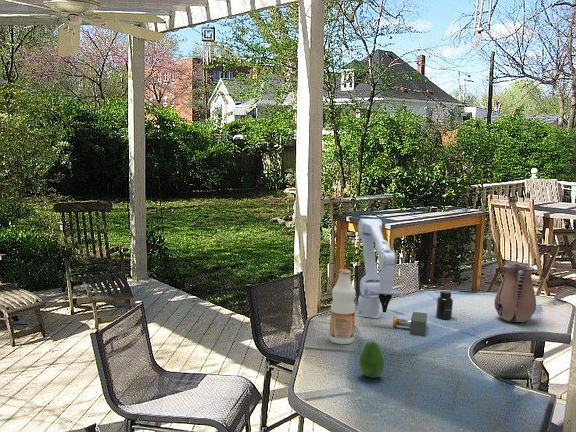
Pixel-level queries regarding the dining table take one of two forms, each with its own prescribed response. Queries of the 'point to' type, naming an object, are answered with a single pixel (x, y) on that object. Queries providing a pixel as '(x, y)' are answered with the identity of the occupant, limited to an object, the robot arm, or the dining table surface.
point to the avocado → (371, 360)
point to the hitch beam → (418, 323)
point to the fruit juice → (342, 310)
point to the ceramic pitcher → (516, 294)
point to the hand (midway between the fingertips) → (384, 311)
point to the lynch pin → (401, 322)
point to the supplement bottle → (444, 306)
